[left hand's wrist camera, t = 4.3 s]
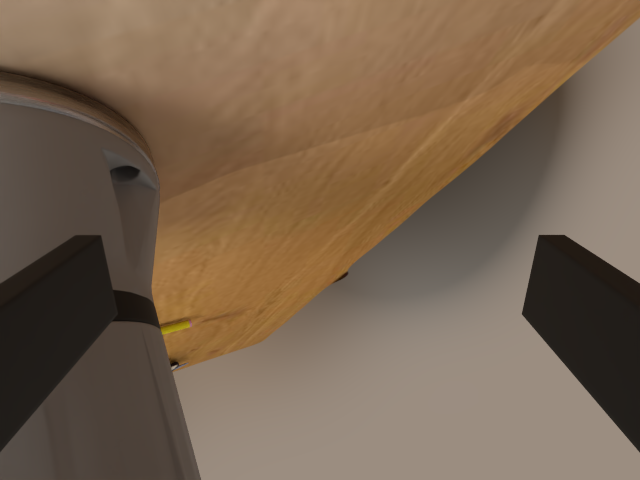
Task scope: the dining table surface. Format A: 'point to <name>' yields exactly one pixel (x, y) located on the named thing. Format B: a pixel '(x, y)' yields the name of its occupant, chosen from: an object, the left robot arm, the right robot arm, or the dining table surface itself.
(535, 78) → the dining table surface
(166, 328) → the pencil
